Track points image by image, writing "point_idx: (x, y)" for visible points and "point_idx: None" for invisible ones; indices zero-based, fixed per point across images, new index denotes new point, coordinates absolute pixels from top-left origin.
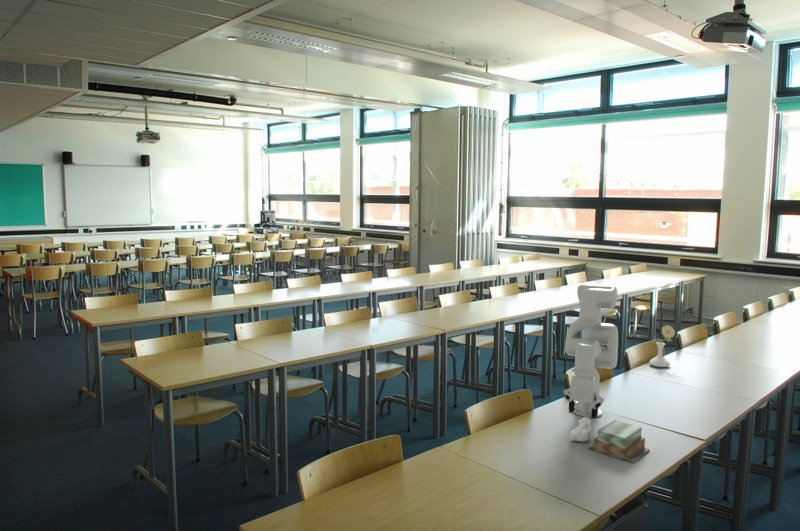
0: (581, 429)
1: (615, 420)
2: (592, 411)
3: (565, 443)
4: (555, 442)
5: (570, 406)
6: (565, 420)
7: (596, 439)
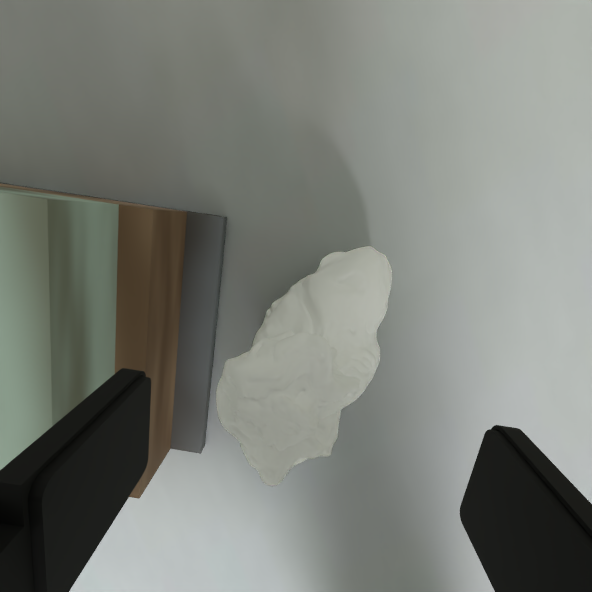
0: (305, 324)
1: None
2: (56, 435)
3: (395, 216)
4: (465, 188)
5: (569, 504)
6: None
7: (131, 213)
